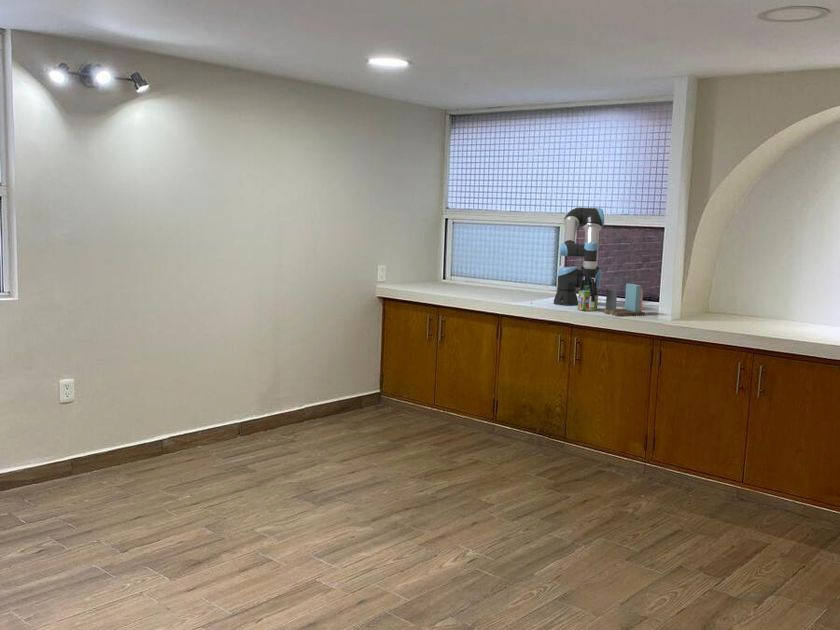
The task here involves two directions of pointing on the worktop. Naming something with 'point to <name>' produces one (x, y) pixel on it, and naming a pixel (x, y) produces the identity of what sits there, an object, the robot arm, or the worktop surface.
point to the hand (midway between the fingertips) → (587, 305)
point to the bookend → (611, 300)
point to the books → (633, 298)
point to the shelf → (624, 312)
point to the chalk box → (586, 300)
